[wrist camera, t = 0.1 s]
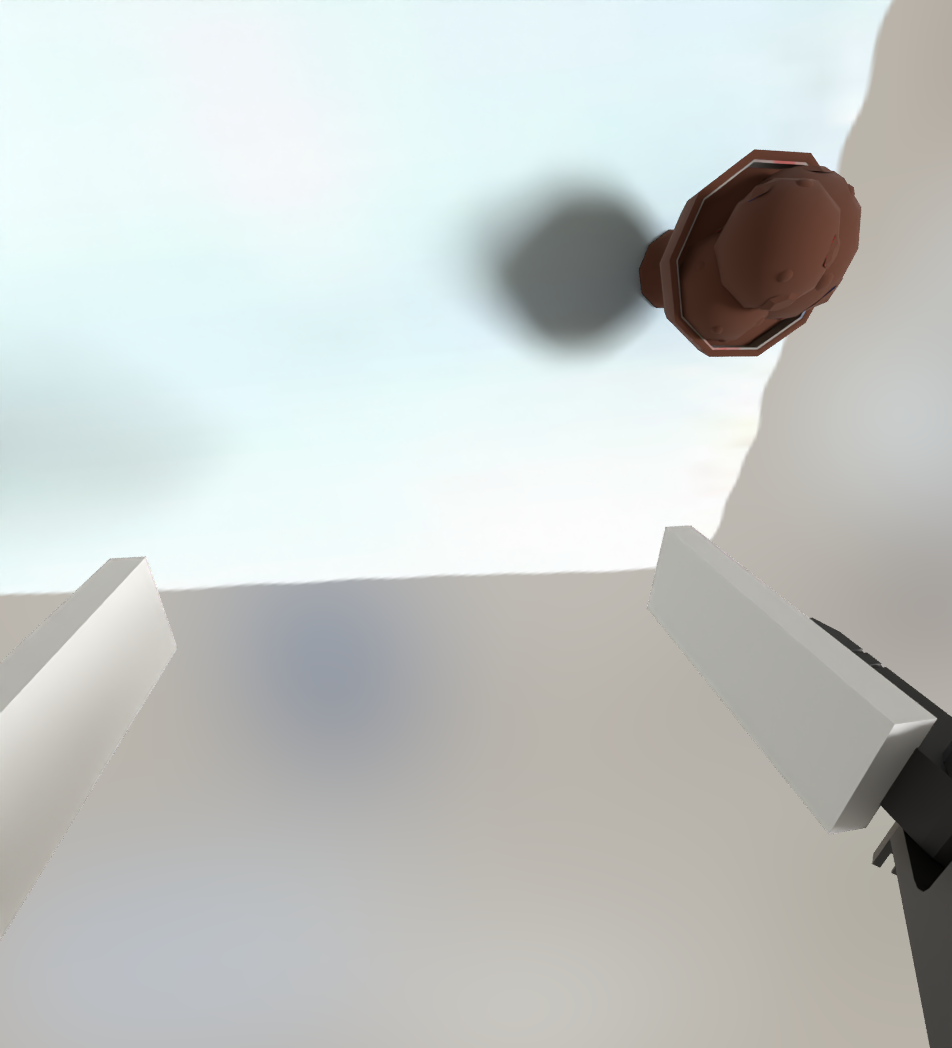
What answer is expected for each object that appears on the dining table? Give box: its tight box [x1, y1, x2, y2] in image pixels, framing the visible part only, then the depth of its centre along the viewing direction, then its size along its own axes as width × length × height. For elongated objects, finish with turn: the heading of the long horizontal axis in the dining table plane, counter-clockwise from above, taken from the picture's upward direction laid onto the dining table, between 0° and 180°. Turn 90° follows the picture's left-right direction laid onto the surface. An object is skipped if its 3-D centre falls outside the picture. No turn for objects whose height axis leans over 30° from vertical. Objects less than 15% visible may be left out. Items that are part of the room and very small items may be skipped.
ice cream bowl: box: [639, 149, 861, 357], centre depth 29 cm, size 11×11×15 cm
